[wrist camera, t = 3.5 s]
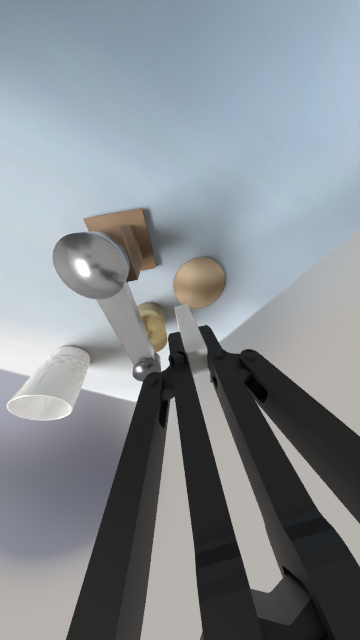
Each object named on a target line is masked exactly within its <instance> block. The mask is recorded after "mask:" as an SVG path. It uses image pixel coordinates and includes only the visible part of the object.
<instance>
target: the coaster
mask: <svg viewBox="0 0 360 640" xmlns="http://www.w3.org/2000/svg"><path fill="white" fill-rule="evenodd" d="M224 285H225V275H224V271H223V269H222V268H221V266H220V265H219V264H218V263H217V262H215V261H214V260H212V259H209V258H205V257H199V258H194V259H192V260H190V261H188V262H186V263H185V264H184V265H183V266H182V267H181V268H180V269H179V270H178V272H177V274H176V276H175V279H174V292H175V295H176V298H177V299H178V301H179V302H180V303H181V304H182V305H184V304H188V306H189V308H191V309H200V308H204V307H207V306H209V305H211V304H212V303H214V302H215V301H216V300H217V299H218V298H219V296H220V295H221V293H222V291H223V289H224Z"/></svg>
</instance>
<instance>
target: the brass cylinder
mask: <svg viewBox="0 0 360 640" xmlns="http://www.w3.org/2000/svg"><path fill="white" fill-rule="evenodd" d="M137 308H138V311H139V313H140V316H141V318H142V321H143V323H144V326H145V329H146V331H147V334H148V336H149V339H150V341H151V344H152V347H153V349H154V352H155V353H156V352H158V351H160V350H162V349H163V348H164V347H165V345H166V343H167V333H166V325H165V317H164V312H163V309H162V308H161V307H160V306H159V305H157V304H155V303H151V302H146V303H142V304H140V305H139V306H138V307H137Z"/></svg>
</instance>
